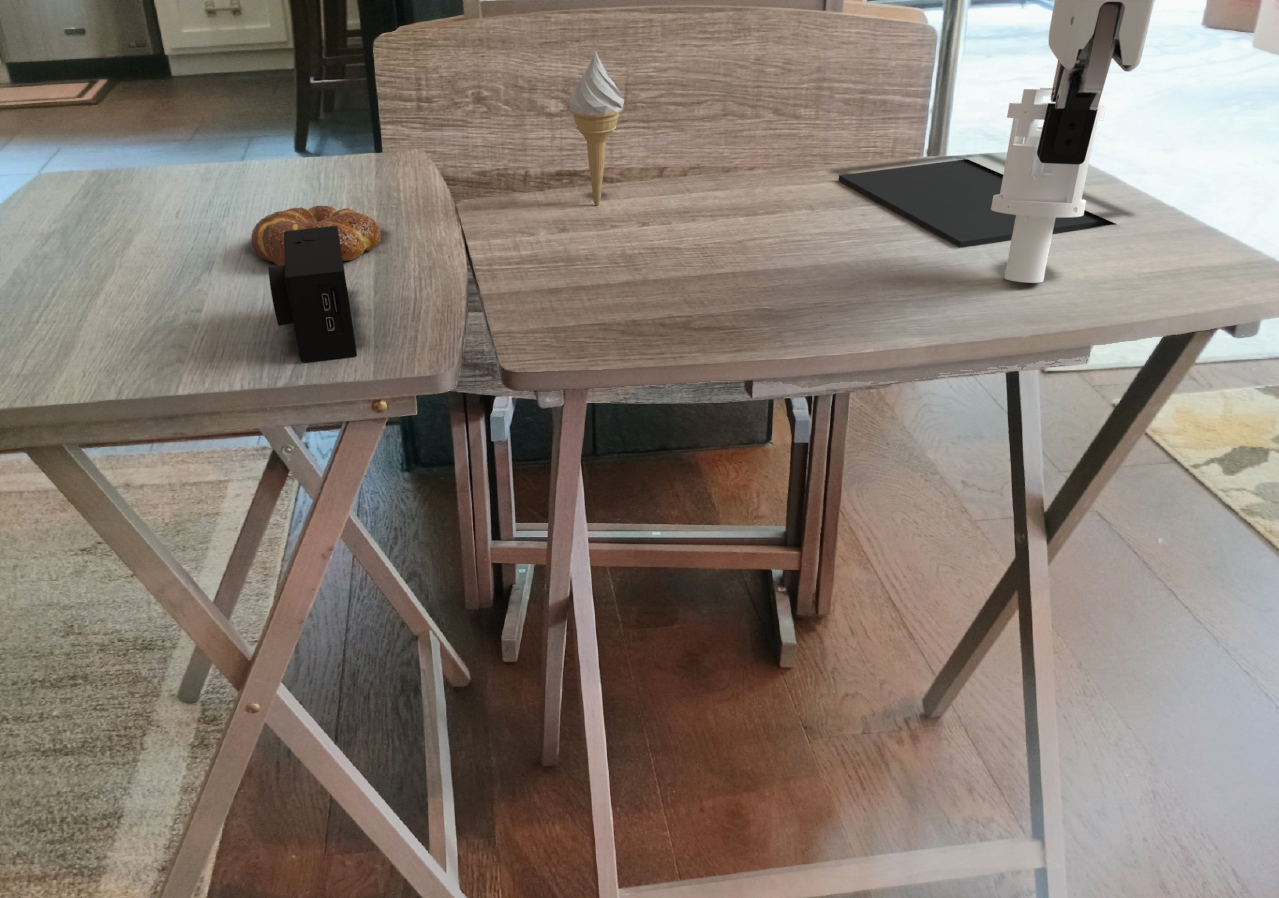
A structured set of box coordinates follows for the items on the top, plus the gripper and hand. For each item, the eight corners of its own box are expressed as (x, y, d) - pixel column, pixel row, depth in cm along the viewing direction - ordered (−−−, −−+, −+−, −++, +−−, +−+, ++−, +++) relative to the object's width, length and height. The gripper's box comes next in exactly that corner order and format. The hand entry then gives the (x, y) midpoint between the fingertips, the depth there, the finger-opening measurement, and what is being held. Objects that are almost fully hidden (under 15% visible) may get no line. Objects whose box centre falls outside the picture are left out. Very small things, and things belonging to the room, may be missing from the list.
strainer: (961, 275, 89) (992, 86, 83) (1017, 269, 92) (1051, 87, 86) (1030, 289, 83) (1069, 88, 77) (1087, 283, 86) (1129, 89, 80)
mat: (1122, 223, 99) (1123, 217, 98) (959, 247, 95) (960, 241, 94) (980, 162, 116) (981, 156, 116) (838, 180, 112) (838, 174, 112)
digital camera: (284, 312, 87) (268, 230, 83) (349, 304, 88) (337, 223, 84) (285, 365, 78) (267, 277, 74) (357, 356, 79) (343, 269, 75)
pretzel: (386, 228, 103) (381, 191, 101) (378, 268, 94) (372, 229, 92) (265, 234, 103) (258, 197, 101) (245, 275, 94) (236, 235, 92)
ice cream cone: (623, 195, 110) (624, 43, 101) (624, 213, 105) (625, 55, 97) (570, 196, 110) (567, 45, 101) (569, 214, 105) (565, 56, 97)
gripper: (1219, -113, 62) (1132, 193, 72) (1163, -128, 74) (1095, 136, 84) (1084, -111, 63) (1018, 188, 74) (1050, -127, 75) (997, 133, 85)
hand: (1059, 160), depth 79 cm, fingers closed
